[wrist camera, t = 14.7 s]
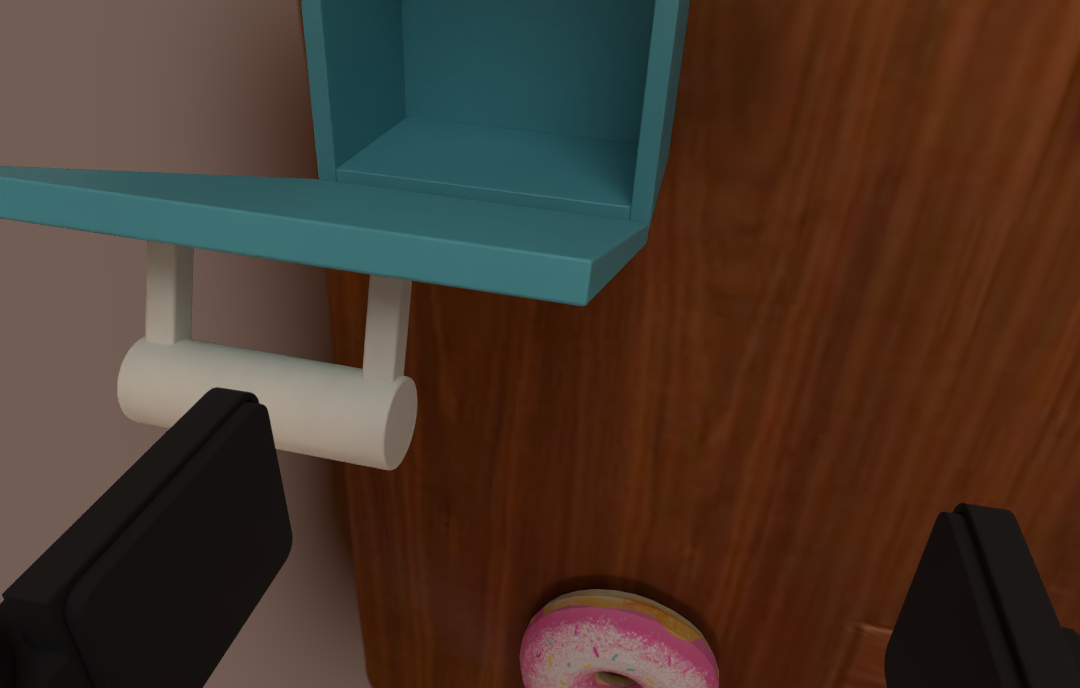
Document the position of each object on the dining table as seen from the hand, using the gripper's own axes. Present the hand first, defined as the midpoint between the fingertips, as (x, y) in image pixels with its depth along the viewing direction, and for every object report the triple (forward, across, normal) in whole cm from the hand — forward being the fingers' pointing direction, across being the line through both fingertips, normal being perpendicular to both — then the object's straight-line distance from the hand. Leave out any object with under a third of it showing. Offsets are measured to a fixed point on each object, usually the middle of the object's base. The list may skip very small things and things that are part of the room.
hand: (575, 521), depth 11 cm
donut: (+29, 0, +39) cm, 49 cm away
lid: (+12, +7, 0) cm, 14 cm away
